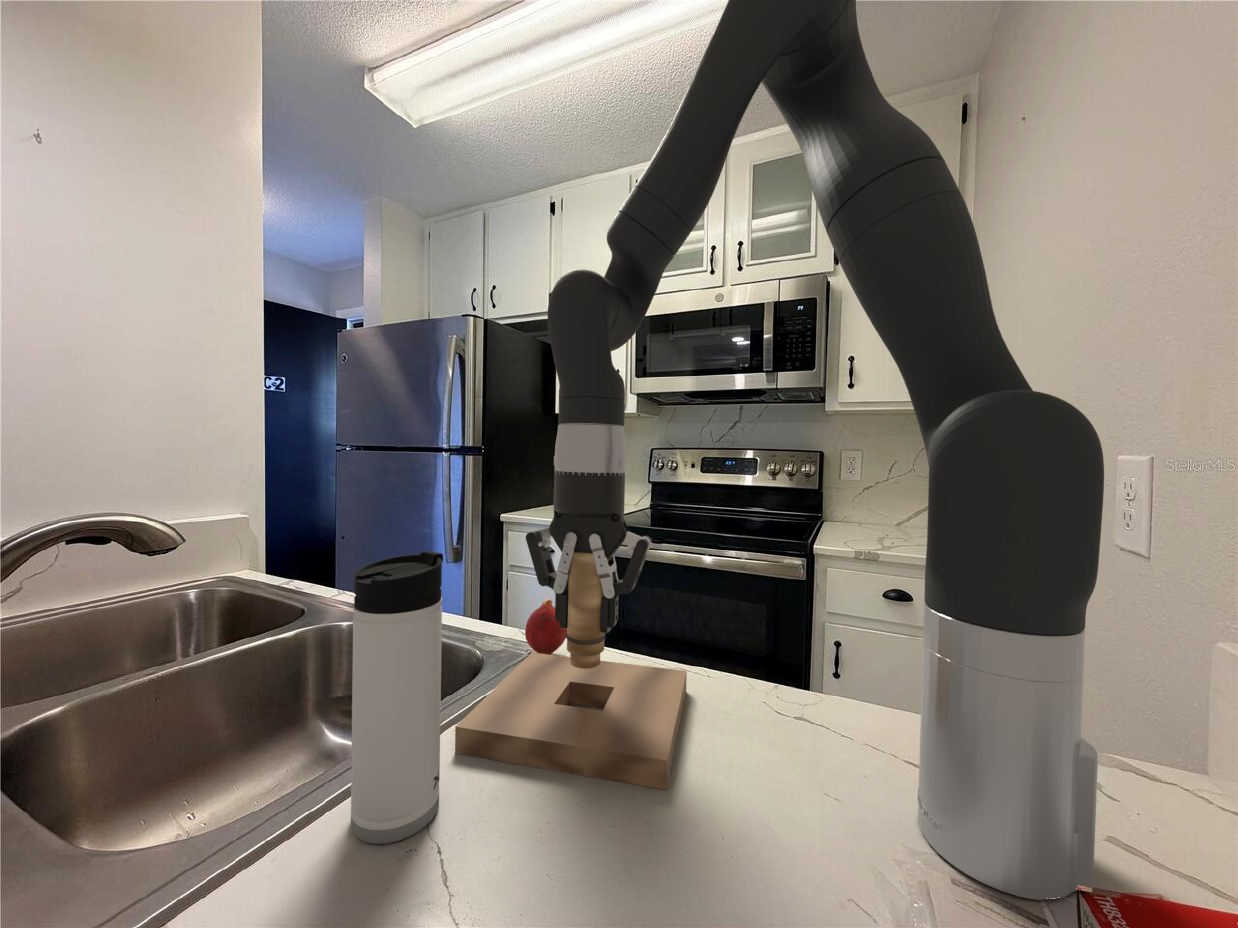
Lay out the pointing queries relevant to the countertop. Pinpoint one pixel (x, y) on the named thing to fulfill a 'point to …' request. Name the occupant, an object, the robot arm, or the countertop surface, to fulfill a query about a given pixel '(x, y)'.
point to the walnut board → (581, 720)
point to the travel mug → (396, 696)
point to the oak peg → (584, 612)
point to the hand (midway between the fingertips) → (585, 627)
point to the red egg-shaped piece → (544, 630)
